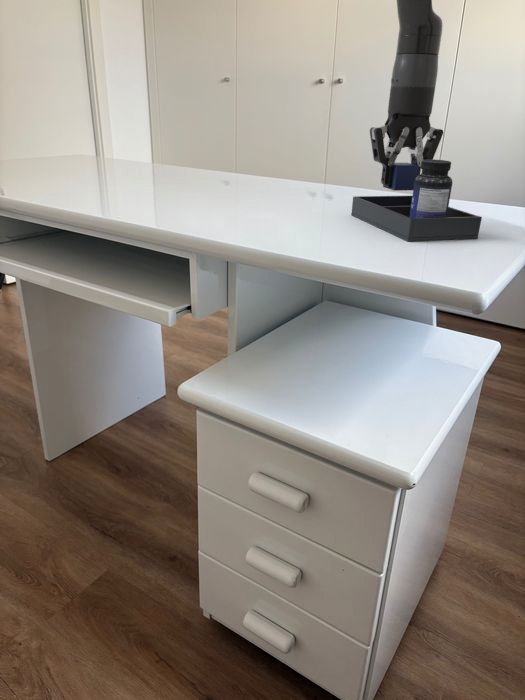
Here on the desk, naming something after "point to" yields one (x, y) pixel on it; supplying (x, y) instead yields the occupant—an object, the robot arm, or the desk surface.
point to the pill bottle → (432, 190)
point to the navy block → (404, 176)
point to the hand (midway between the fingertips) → (399, 186)
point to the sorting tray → (414, 219)
